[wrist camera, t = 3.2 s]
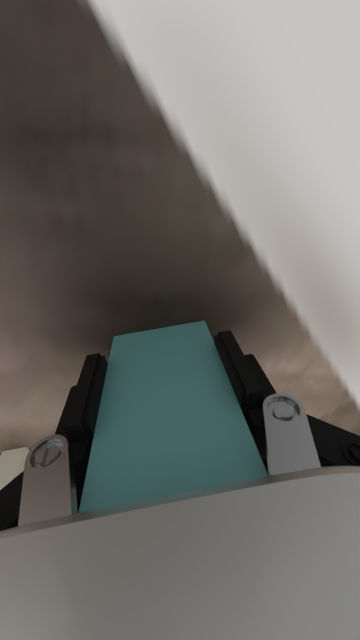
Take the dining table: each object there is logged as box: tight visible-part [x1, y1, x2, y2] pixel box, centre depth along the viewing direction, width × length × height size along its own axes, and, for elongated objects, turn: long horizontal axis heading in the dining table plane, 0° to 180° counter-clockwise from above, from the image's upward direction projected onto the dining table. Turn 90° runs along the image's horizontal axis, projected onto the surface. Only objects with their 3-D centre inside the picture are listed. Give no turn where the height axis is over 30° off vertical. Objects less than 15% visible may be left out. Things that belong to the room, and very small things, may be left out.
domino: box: [79, 320, 268, 513], centre depth 11 cm, size 5×2×9 cm, turn 97°
